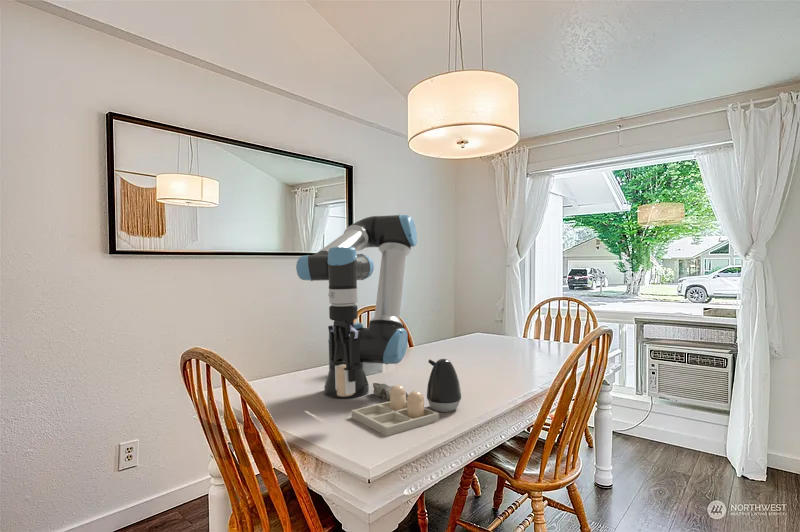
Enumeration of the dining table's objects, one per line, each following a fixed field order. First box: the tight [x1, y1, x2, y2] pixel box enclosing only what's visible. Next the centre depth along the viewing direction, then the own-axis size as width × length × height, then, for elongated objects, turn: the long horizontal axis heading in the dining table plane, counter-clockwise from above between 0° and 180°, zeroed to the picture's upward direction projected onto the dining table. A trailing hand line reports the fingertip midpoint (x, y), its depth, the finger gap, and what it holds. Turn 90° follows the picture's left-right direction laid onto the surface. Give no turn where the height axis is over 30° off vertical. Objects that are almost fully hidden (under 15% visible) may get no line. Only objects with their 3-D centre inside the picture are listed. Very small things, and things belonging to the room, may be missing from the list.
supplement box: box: [363, 362, 384, 376], centre depth 181 cm, size 10×9×17 cm
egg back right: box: [407, 390, 425, 419], centre depth 123 cm, size 5×5×8 cm
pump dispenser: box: [426, 358, 462, 413], centre depth 132 cm, size 10×10×15 cm
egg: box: [336, 365, 354, 396], centre depth 119 cm, size 5×5×8 cm
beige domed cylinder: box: [390, 384, 407, 411], centre depth 129 cm, size 5×5×8 cm
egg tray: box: [351, 401, 440, 437], centre depth 124 cm, size 17×17×2 cm
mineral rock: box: [372, 382, 409, 402], centre depth 144 cm, size 15×8×4 cm, turn 30°
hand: (345, 390), depth 120 cm, fingers closed on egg, 4 cm apart
